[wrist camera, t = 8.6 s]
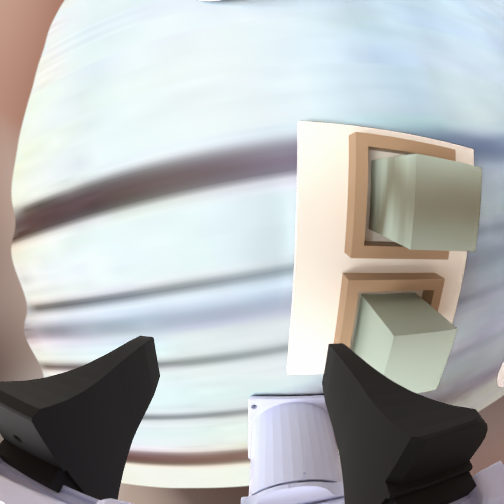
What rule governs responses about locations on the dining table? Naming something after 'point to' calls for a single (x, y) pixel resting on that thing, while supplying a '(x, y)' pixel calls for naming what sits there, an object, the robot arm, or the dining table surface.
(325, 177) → the puzzle board
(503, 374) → the wineglass
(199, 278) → the dining table surface
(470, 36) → the dining table surface
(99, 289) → the dining table surface
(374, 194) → the green block
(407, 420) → the robot arm
